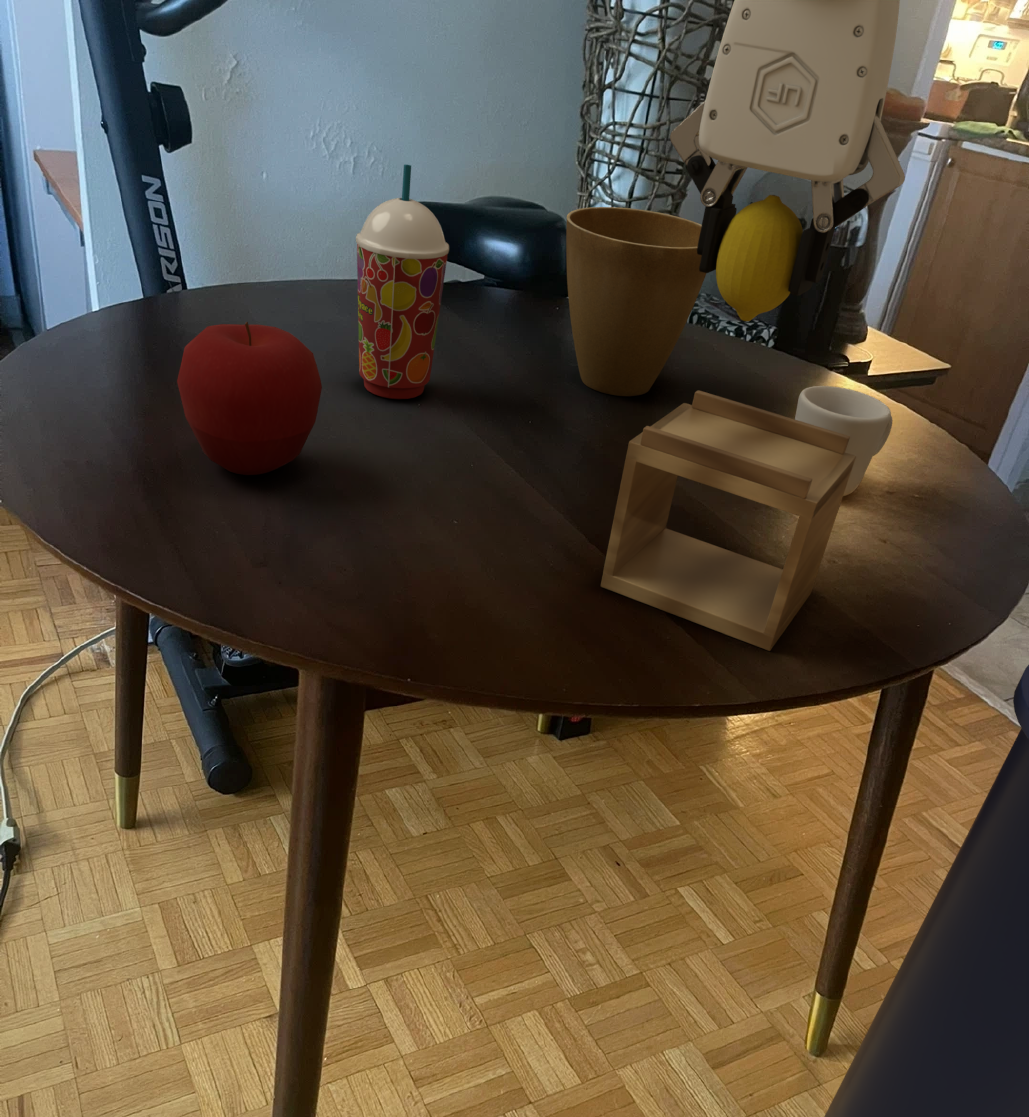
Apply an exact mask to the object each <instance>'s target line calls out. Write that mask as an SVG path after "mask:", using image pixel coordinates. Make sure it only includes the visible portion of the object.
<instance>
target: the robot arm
mask: <svg viewBox="0 0 1029 1117" xmlns="http://www.w3.org/2000/svg"><path fill="white" fill-rule="evenodd" d="M900 1H901V0H734V1H733V3H732V6H731V8H730V9H731V10H730V12H729V14H728V15H729V16H728V18H727V22H726V25H725V28H724V31H723V34H722V38H721V41H720V44H719V48H718V52H717V55H716V59H715V63H714V66H713V70H712V74H711V77H710V81H709V85H708V89H707V93H706V97H705V100H704V101H702V102H701V104H699V105H698V106H697V107H696V108H695V109H694V110H693V111H692V112H690V113H689V115H687V116H686V118H684V119H683V120H682V121H681V122H680V123H679V124H678V125H677V126H676V127H675V128H673V129H672V131H671V132H670V135H669V140H670V142H671V144H672V146H673V147H674V149H675V151H676V152H677V154H678V156H679V157H680V159H681V160H682V162H683V163H684V164H685V165H686V170H687V172H688V174H689V176H690V179H692V181H693V183H694V185H695V187H696V188H697V190H698V192H699V194H700V195H699V196H700V197H699V198H700V202H701V204H702V205H703V206H704V211H703V217H702V223H701V225H702V226H701V231H700V236H699V241H698V246H697V254H698V255H702V256H701V261H700V266H699V271H700V272H704V273H706V274H709V273H712V272H714V271H716V260H717V254H718V250H719V246H720V243H721V240H722V238H723V235H724V233H725V231H726V229H727V227H728V225H729V223H730V222H731V220H732V219H733V218H734V216H735V215H736V214H737V211H738V210H737V209H738V208H737V207H736V203H733V200H734V193H735V192H736V189H737V187H738V186H739V184H740V183H741V180H742V179H743V177H744V175H745V173H746V172H747V169H754V170H758V171H764V172H768V173H773V174H778V175H783V176H788V177H793V178H797V179H802V180H808V181H810V184H811V186H810V188H811V201H812V202H811V203H812V218H811V221H810V224H809V227H808V228H806V229H803V233H802V236H801V240H800V244H799V248H798V252H797V256H796V260H795V264H794V268H793V272H792V276H791V280H790V284H789V288H788V291H789V292H790V294H789V295H791V296H797V297H799V296H801V295H803V294H805V293H806V292H808V291H810V290H811V289H812V287H813V284H818V283H819V282H820V281H821V279H822V277H823V275H824V271H825V268H826V264H827V261H828V258H829V254H830V253H829V252H830V250H831V246H832V241H833V238H834V234H835V230H836V228H837V227H839V226H841V225H842V224H843V223H845V222H846V221H848V220H849V219H850V218H852V217H853V216H855V215H857V214H858V213H860V212H861V211H862V210H865V208H867V207H868V206H870V205H871V204H873V203H874V202H876V201H878V200H879V199H881V198H883V197H884V196H886V195H889V193H891V192H893V191H894V190H896V189H897V188H899V187H901V186H902V185H903V184H904V182H905V179H906V176H905V172H904V169H903V168H902V166H901V163H900V161H899V159H898V157H897V154H896V152H895V150H894V148H893V146H892V143H891V141H890V139H889V137H888V134H887V132H886V130H885V128H884V126H883V124H882V123H883V122H882V116H883V111H884V107H885V106H884V105H885V102H886V98H887V91H888V86H889V82H890V76H891V69H892V65H893V64H892V63H893V59H894V52H895V46H896V41H897V40H896V39H897V33H898V32H897V31H898V24H899V15H900V13H899V12H900ZM715 160H716V161H717V162H716V163H715ZM867 165H870V167H871V170H872V175H871V178H870V179H868V180H867V181H866V182H864V183H862V184H861V185H859V186H858V187H856V188H855V189H853V190H850V192H848V193H847V194H845V190H844V186H845V185H844V179H846V178H847V177H848V176H854V175H856V174H859V173H861V172H863V171H864V170H865V169H866V167H867Z"/></svg>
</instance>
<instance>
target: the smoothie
mask: <svg viewBox="0 0 1029 1117" xmlns="http://www.w3.org/2000/svg"><path fill="white" fill-rule="evenodd" d="M402 173H403V174H402V187H401V188H402V190H401V197H396V198H391V199H388V200H386V201H384V202H382V203H380V204H379V205H377V206H376V207H375V208H373V209H372V211H370V213H369V214H368V215H367V217H366V218H365V220H364V223H363V224H362V228H361V229H360V232H358V233H356V235H355V243H356V270H357V271H356V272H357V274H356V275H357V319H358V320H357V324H358V326H357V327H358V329H357V330H358V367H359V368H358V372H359V373H358V374H359V376H360V377H361V378H362V379H363V385H364V389H365V390H367V391H368V392H370V393H371V394H373V395H374V396H376V397H377V396H378V397H381V398H385V399H390V400H409V399H415V398H416V397H418V396H421V395H422V394H423V393H424V390H425V386H426V385H427V384H428V383H429V382H430V380H431V373H432V368H433V367H432V366H433V359H434V353H435V346H436V340H437V339H436V338H437V333H438V324H439V318H440V312H441V303H442V298H443V291H444V290H443V289H444V283H445V276H446V271H447V270H446V268H447V262H448V254H449V252H450V244H449V243H448V242H446V239H445V234H444V230H443V228H442V225H441V223H440V222H439V220H438V218H437V217H436V216H435V214H434V213H433V212H432V211H431V210H430V209H429V208H428V207H427V206H426V205H424V204H422V203H421V202H419V201H417V200H414V199H413V198H410V194H411V192H410V191H411V180H412V179H411V176H412V165H411V164H406V163H405V164H403V172H402Z"/></svg>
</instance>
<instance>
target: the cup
mask: <svg viewBox="0 0 1029 1117" xmlns="http://www.w3.org/2000/svg"><path fill="white" fill-rule="evenodd" d="M794 419H795V420H798V421H801V422H805V423H808V424H811V425H815V426H818V427H821V428H825V429H828V430H831V431H835V432H838V433H841V434H844V435H848V436H850V439H849V442H848V445H847V448H846V451H845V453H848V454H852V455H855V456H856V459H855V462H854V465H853V468H852V471H851V474H850V477H849V480H848V483H847V486H846V489H845V492H844V495H843V497H846V496H848V495H850V494H852V493H853V492H854V491H856V489H857V488H858V487H859V486H860V484H861V482H862V481H863V479H864V476H865V474H866V471H867V469H868V467H869V465H870V463H871V461H872V458H873V457H875V456H876V455H877V454H879V453H880V451H881V450H882V449H883V448H884V446H885V444H886V442H887V441H888V439H889V436H890V434H891V431H892V428H893V421H894V420H893V416H892V411H891V409H890V408H889V406H887V404H886V403H884V402H882V401H881V400H879V399H878V398H876V397H874V396H871V395H869V394H867V393H865V392H864V393H863V392H861V391H858V390H854V389H851V388H846V387H839V386H833V385H832V386H831V385H814V386H808V387H806V388H804V389H803V390H802V391H801V392H800V394H799V396H798V401H797V405H796V410H795V417H794Z"/></svg>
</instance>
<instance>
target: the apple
mask: <svg viewBox="0 0 1029 1117" xmlns="http://www.w3.org/2000/svg"><path fill="white" fill-rule="evenodd" d="M176 383H177V388H178V392H179V396H180V401H181V404H182V408H183V413H184V417H185V420H186V421H187V423H188V425H189V427H190V429H191V431H192V433H193V435H194V437H195V438H196V440H197V442H198V445H200V448H201V450H202V452H203V454H204V455H206V457H207V458H208V459H209V460H210V461H211V462H213V463H215V464H216V465H218V466H221V468H223V469H225V470H226V471H228V472H230V473H233V474H236V475H243V476H258V475H263V474H267V473H270V472H273V471H275V470H277V469H280V468H281V467H283V466H285V465H287V464H289V463H290V462H293V461H294V460H295V459H296V458H297V457H299V455H301V452H302V450H303V448H304V446H305V444H306V442H307V440H308V438H309V436H310V435H311V432H312V430H313V428H314V426H315V423H316V422H317V421H316V420H317V416H318V411H319V407H320V406H319V405H320V401H321V395H322V390H323V384H322V380H321V375H320V372H319V369H318V365H317V362H316V358H315V355H314V353H313V351H311V349H309V348H308V346H306V345H305V344H304V343H303V342H302V341H300V339H299V338H297V337H296V336H295V335H293V334H292V333H290V332H289V331H286V330H285V329H282V328H279V327H277V326H272V325H271V326H270V325H264V324H249V321H248V320H247V321H246V322H245V324H235V323H232V324H231V323H230V324H228V323H221V324H215V325H208V326H206V327H205V328H204V329H203V330H201V331H200V332H199V333H198V334H197V335H196V336H195V337H194V338H192V340H190V341H189V342H188V343H187V344H186V345H185V346H184V349H183V354H182V357H181V362H180V367H179V371H178V376H177V380H176Z"/></svg>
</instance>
